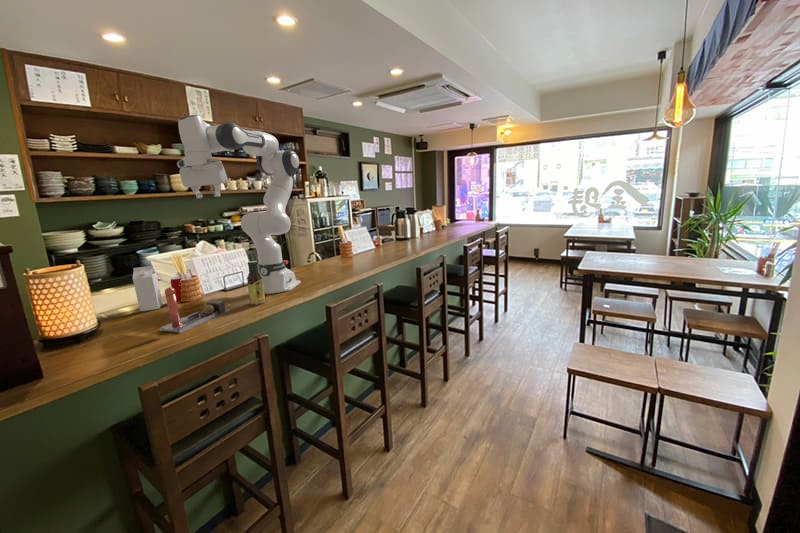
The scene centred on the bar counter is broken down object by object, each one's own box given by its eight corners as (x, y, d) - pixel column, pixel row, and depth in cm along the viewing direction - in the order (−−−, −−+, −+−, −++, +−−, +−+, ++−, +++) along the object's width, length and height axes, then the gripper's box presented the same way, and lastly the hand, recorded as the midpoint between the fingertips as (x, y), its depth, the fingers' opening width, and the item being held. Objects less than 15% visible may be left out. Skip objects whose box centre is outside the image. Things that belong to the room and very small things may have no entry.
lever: (179, 323, 133) (171, 284, 130) (194, 324, 131) (186, 284, 128) (162, 330, 127) (153, 289, 123) (177, 332, 125) (168, 290, 121)
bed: (212, 310, 150) (210, 299, 149) (231, 312, 147) (229, 300, 146) (160, 334, 128) (157, 320, 127) (181, 336, 125) (178, 322, 124)
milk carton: (144, 306, 159) (135, 266, 155) (163, 304, 162) (154, 264, 157) (140, 311, 153) (130, 269, 148) (159, 309, 155) (150, 267, 151)
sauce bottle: (260, 308, 150) (253, 263, 146) (247, 308, 151) (240, 263, 147) (268, 303, 156) (262, 260, 152) (256, 302, 158) (250, 260, 153)
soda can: (183, 303, 162) (178, 278, 159) (172, 303, 162) (166, 278, 159) (190, 299, 167) (186, 275, 164) (179, 299, 167) (174, 275, 165)
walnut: (209, 312, 145) (207, 303, 144) (217, 312, 143) (215, 303, 143) (201, 315, 141) (199, 306, 140) (209, 316, 140) (207, 307, 139)
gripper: (226, 157, 132) (235, 194, 135) (188, 163, 139) (197, 198, 143) (213, 157, 126) (222, 196, 130) (173, 163, 134) (183, 200, 137)
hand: (208, 197), depth 136 cm, fingers open, 8 cm apart
